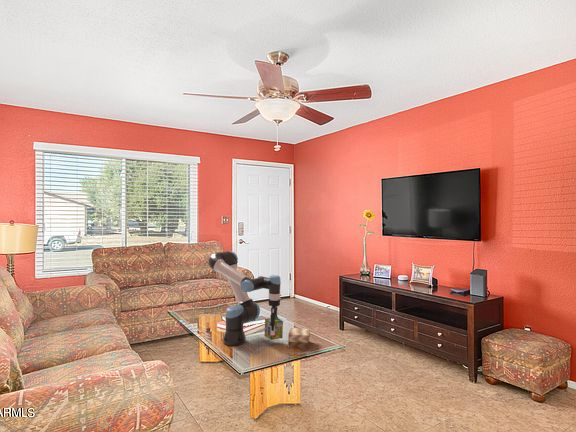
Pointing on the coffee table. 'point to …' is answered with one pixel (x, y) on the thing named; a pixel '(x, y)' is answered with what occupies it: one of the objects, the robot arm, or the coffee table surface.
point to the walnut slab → (298, 345)
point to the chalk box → (277, 328)
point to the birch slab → (299, 335)
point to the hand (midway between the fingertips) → (273, 331)
